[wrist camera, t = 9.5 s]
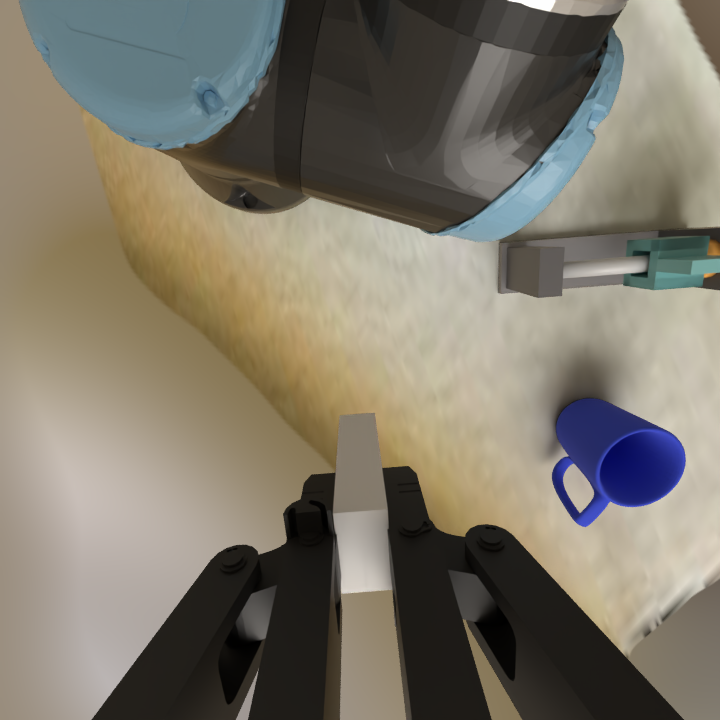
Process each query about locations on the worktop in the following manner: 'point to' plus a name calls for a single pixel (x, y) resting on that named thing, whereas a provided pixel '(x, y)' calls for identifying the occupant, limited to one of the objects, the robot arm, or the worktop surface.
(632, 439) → the mug
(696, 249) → the sleeve
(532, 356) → the worktop surface
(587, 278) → the grey slider rail stand
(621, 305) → the worktop surface
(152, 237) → the worktop surface
